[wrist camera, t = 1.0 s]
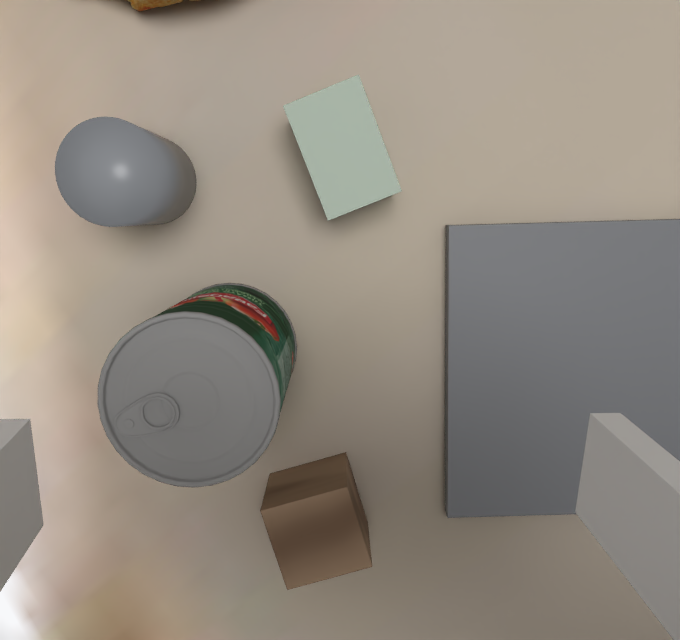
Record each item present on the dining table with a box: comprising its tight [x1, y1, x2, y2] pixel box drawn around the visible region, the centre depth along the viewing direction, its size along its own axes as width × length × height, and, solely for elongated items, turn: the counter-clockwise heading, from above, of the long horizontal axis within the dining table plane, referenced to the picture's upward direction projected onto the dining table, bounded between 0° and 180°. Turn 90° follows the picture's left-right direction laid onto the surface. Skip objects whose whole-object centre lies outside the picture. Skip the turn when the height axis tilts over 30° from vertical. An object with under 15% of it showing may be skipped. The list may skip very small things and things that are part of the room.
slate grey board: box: [445, 219, 680, 518], centre depth 37 cm, size 18×18×1 cm
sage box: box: [283, 75, 402, 220], centre depth 33 cm, size 6×4×5 cm, turn 22°
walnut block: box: [260, 452, 372, 590], centre depth 36 cm, size 5×5×5 cm
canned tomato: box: [98, 283, 297, 487], centre depth 32 cm, size 8×8×11 cm
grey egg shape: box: [55, 117, 196, 227], centre depth 32 cm, size 5×5×7 cm
